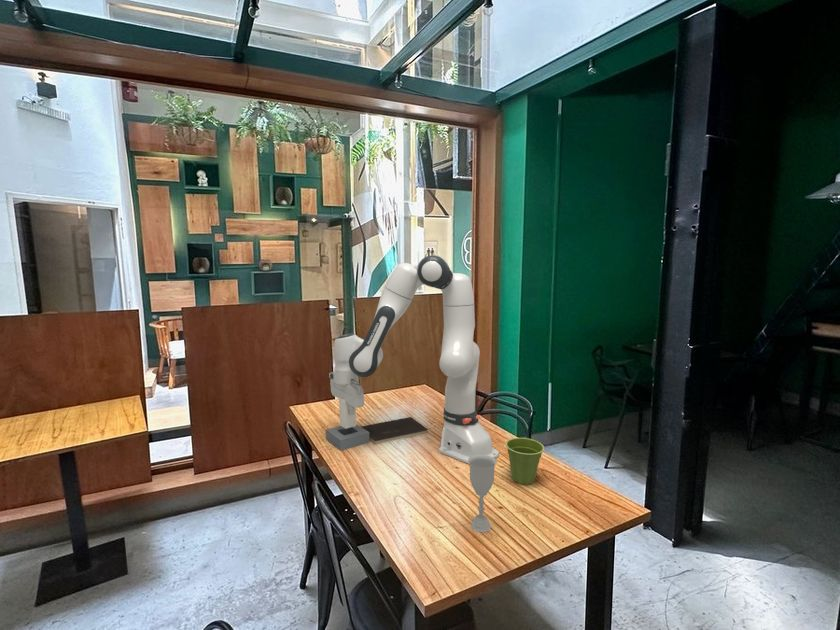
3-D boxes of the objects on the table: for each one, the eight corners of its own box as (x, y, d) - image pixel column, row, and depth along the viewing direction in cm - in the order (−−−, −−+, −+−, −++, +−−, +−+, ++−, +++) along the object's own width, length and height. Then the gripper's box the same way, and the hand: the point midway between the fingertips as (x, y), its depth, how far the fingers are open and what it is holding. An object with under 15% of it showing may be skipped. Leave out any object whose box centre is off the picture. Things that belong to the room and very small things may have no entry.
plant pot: (515, 491, 129) (516, 455, 127) (498, 472, 140) (499, 439, 138) (550, 486, 132) (552, 451, 130) (530, 468, 143) (531, 435, 142)
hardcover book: (428, 434, 171) (428, 429, 171) (374, 446, 161) (374, 440, 160) (410, 421, 185) (410, 416, 185) (359, 431, 175) (359, 425, 174)
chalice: (492, 518, 115) (493, 454, 113) (497, 534, 109) (499, 466, 106) (465, 518, 115) (466, 454, 113) (468, 534, 108) (469, 467, 106)
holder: (369, 442, 163) (369, 432, 162) (340, 450, 156) (340, 440, 155) (354, 432, 172) (353, 422, 172) (326, 439, 165) (326, 429, 165)
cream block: (356, 425, 163) (355, 397, 161) (345, 428, 160) (344, 400, 158) (350, 422, 166) (349, 394, 165) (339, 425, 163) (339, 397, 162)
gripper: (368, 381, 154) (368, 418, 156) (341, 370, 170) (342, 403, 172) (352, 384, 150) (353, 422, 152) (327, 372, 167) (328, 407, 168)
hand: (347, 412), depth 162 cm, fingers closed on cream block, 4 cm apart
